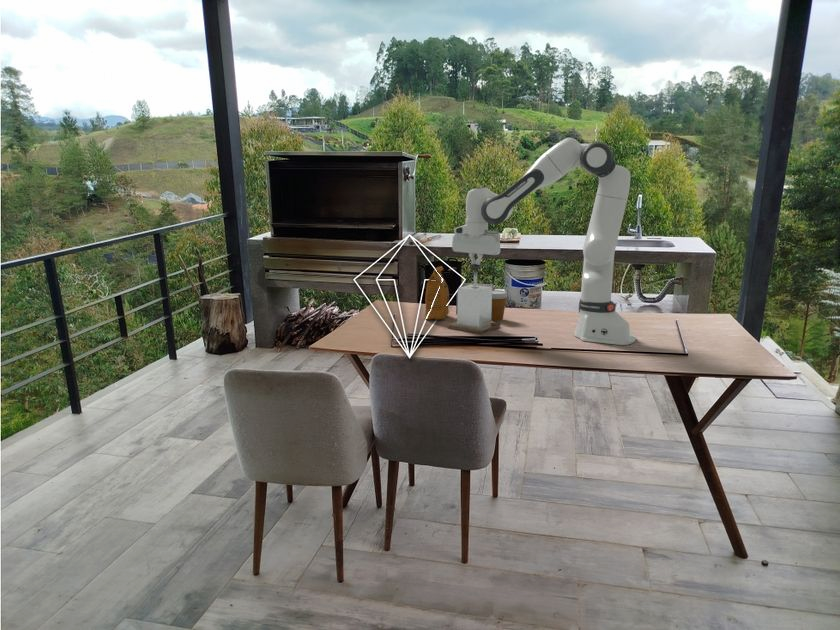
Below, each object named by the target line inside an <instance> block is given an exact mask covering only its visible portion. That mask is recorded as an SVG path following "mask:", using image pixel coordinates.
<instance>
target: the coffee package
mask: <svg viewBox="0 0 840 630" xmlns="http://www.w3.org/2000/svg"><path fill="white" fill-rule="evenodd" d="M434 269H436V270H437V272H438V273H439V274H440V275H441V277H442V278H443V279H444V277H443V273H442V271H444V268H443V266H442V265H441V266H438V267H435V268H434ZM437 272H436V271H435V270H433V273H432V274H431V275H430V277H429V278H428V281H427V282H426V287H425V297H424V298H425V299H424V300H425V301H424V302H425V312H424V314H425V315H424V318H426V316H427V314H428V312H429V311H430V309H431V305H432V302H433V300H434V297H435V295H436V292H437V290H438V287H439V285H440V289H439V291H438V294H437V297H436V299H435V302H434V305H433V307H432V311H431V312H430V314H429V316H428V319H426V320H427V321H428V320H431V321H433V319H434V320H436V319H438V320H439V321H440V320H444V319H445V318H446V317H447V316H448V315H449V312H450V311H449V308H450V307H449V305H450V304H449V305H448V306H446V304H447V303H448V302H449V303H450V291H449V286H448V284H447V282H446V280H445V279H444V281H443V282H442V283H441V278H440V276H439V275H438V274H437ZM431 280H436V281H431Z"/></svg>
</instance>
